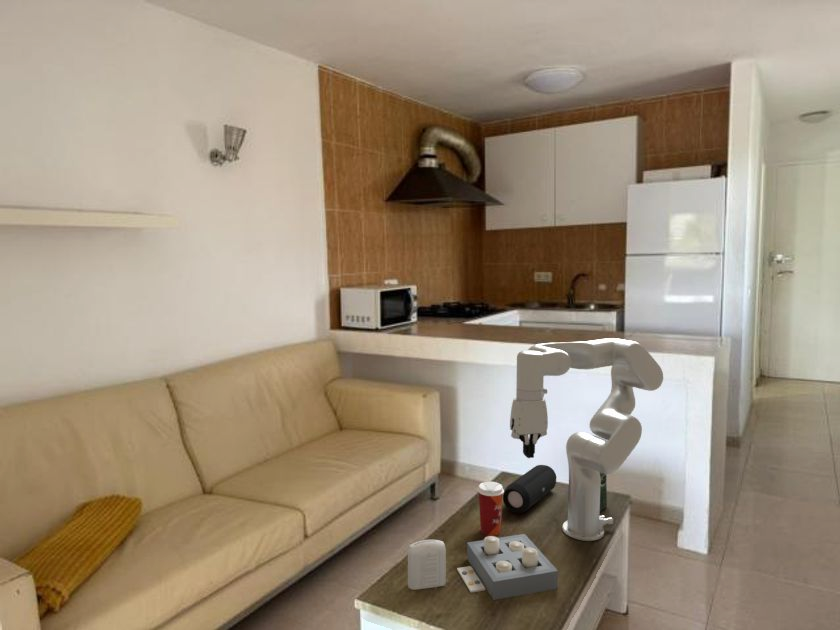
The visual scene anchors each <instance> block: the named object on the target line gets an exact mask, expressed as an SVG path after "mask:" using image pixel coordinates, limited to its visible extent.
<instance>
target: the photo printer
mask: <svg viewBox="0 0 840 630" xmlns="http://www.w3.org/2000/svg"><path fill="white" fill-rule="evenodd" d="M446 553H447V550H446V545H445V543H444V541H442V540H438V539H424V540H419V541H416V542H413V543H412V544H411V543H410V544H409V545H408V551H407V587H408V589H410V590H414V591H415V590H416V591H417V590H423V589H424V590H425V589H431V588H440V587H444V586H445V585H446V578H447V577H446V573H447V571H446V569H447V567H446V566H447V564H446V563H447V562H446V561H447V558H446V557H447V554H446Z"/></svg>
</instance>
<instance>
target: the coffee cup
mask: <svg viewBox="0 0 840 630" xmlns="http://www.w3.org/2000/svg"><path fill="white" fill-rule="evenodd" d="M504 491H505V489H504V488H503V484H501V483H499V482H496V481H484V482H480V483H479V485H478V488H477V493H478V504H479V506H478V507H479V522H480V532H481V534H482V535H484V536H485V537H488V536H494V537H497V536H498V535H500V533H501V526H502V525H501V522H502V513H503V511H502V510H503V494H504Z"/></svg>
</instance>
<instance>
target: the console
mask: <svg viewBox="0 0 840 630" xmlns="http://www.w3.org/2000/svg"><path fill="white" fill-rule="evenodd" d="M497 538H498V539H499V554H496V555H490V556H486V554H485V553H484V539H482V540H476V541H474V540H473V541H469V542H466V559H467V561H468V563H469V564H470V566H471V567H472V569H473V570H474V572H475V573H476V575H477V576H478V578H479V580H480V581H481V583H482V584H483V586H484V587H485V590H486V591H487V592H488V594H489V595H490V597H491V598H492V600H493V601H496V600H502V599H509V598H513V597H518V596H524V595H530V594H535V593H541V592H547V591H552V590H558V588H559V587H558V581H559V580H558V579H559V577H558V576H559V570H558V569H557V568H556V567H555V566H554V565H553V563H552V562H550V560H549V559H548V558H547V556H545V555H544V553H543V552H541V550H540V549H539V548H538V547H537V546H536V545H535V543H534V542H533V541H532V540H531V539H530V538H529V537H528V536H527V535H526V534H525V533H523V534H522V533H521V534H514V535H508V536H501V537H497ZM513 541H518V542H521V543H523V544H524V548H534V549H536V550H537V551H538V567H532V568H526V569H525V568H524V566H523V565H522V564H521V563H520V561H522V551H515V552H511V550H510V549H509V543H510V542H513ZM499 561H507V562H509V563H511V564H512V571H508V572H502V573H498V571H497V570H496V563H497V562H499Z"/></svg>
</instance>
